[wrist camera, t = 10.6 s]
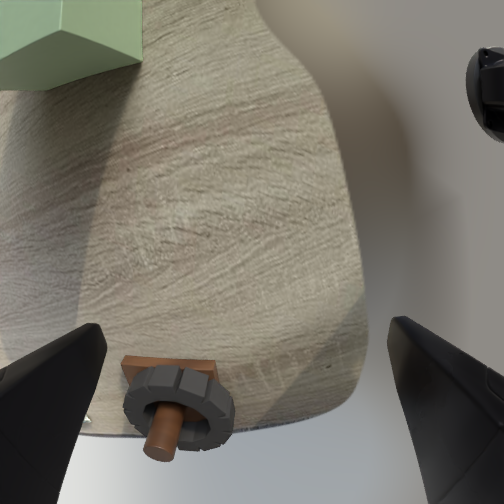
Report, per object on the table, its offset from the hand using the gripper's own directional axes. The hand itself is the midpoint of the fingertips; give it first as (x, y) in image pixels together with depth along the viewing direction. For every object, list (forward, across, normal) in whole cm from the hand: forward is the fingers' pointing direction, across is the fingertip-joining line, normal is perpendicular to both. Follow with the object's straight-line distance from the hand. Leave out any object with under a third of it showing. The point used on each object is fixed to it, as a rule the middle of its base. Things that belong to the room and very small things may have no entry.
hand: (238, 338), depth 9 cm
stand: (+12, +8, +15) cm, 21 cm away
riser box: (+12, +10, -14) cm, 21 cm away
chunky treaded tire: (+10, +8, +16) cm, 20 cm away
